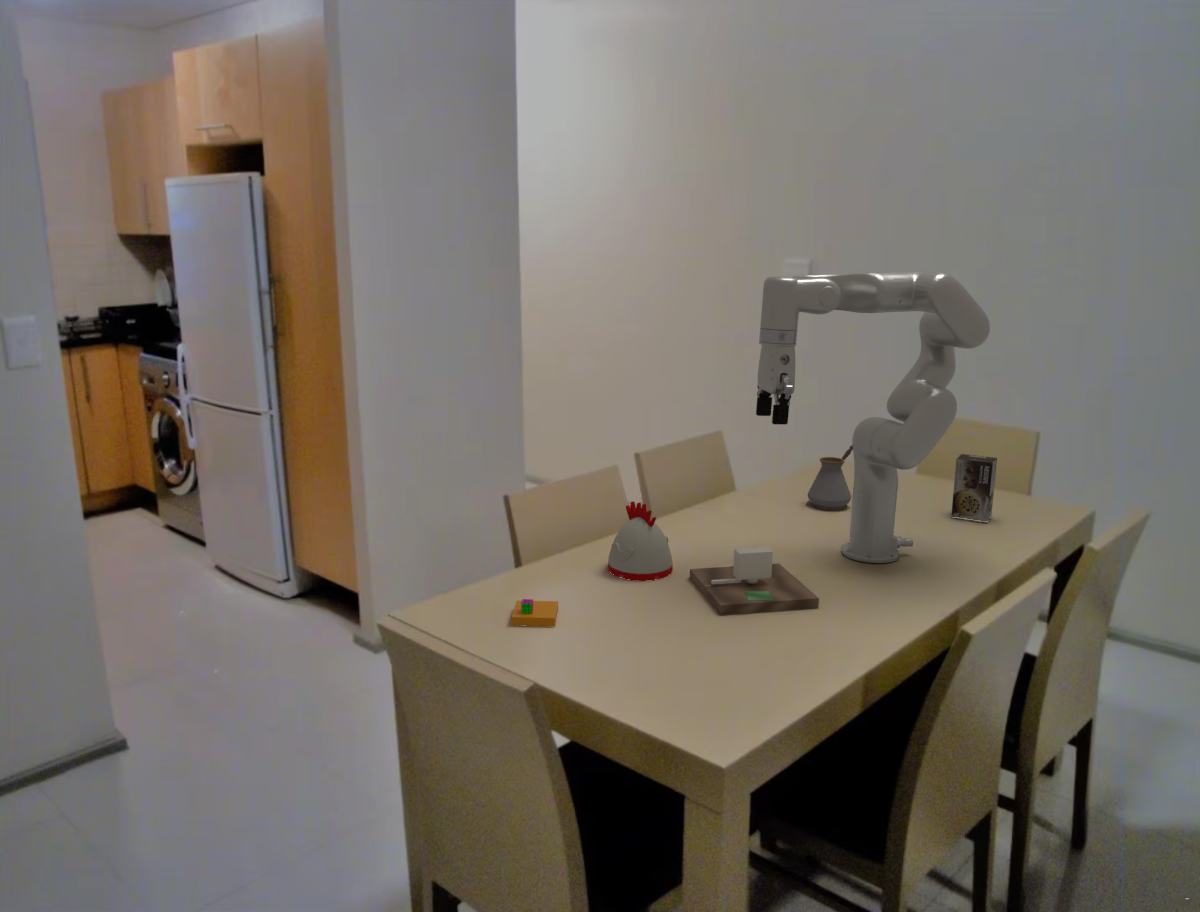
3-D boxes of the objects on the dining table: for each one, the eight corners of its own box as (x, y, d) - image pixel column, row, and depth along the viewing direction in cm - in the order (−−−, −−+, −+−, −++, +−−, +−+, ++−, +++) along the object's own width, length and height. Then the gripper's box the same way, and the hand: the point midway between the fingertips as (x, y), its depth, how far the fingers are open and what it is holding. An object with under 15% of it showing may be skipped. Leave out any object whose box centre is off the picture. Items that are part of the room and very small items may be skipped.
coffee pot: (839, 514, 239) (843, 458, 236) (799, 506, 246) (802, 452, 243) (871, 497, 256) (876, 445, 252) (833, 490, 263) (837, 439, 259)
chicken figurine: (638, 554, 208) (640, 490, 204) (685, 570, 198) (687, 503, 195) (594, 569, 198) (595, 502, 195) (641, 586, 188) (642, 516, 185)
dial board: (778, 572, 197) (779, 562, 197) (818, 607, 178) (819, 597, 177) (689, 578, 193) (689, 568, 193) (720, 615, 174) (720, 604, 174)
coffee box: (991, 517, 238) (998, 457, 234) (987, 524, 233) (994, 462, 229) (955, 512, 243) (961, 453, 239) (949, 518, 237) (955, 457, 234)
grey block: (765, 577, 187) (767, 546, 186) (770, 583, 184) (772, 551, 183) (709, 581, 185) (710, 550, 183) (714, 587, 182) (715, 555, 180)
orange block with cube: (516, 611, 176) (516, 590, 175) (558, 612, 176) (558, 591, 175) (511, 628, 168) (511, 606, 167) (554, 629, 168) (554, 607, 167)
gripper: (811, 342, 180) (804, 427, 184) (780, 334, 197) (773, 412, 201) (775, 341, 179) (768, 427, 183) (746, 333, 196) (741, 412, 199)
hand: (771, 419), depth 192 cm, fingers open, 9 cm apart
